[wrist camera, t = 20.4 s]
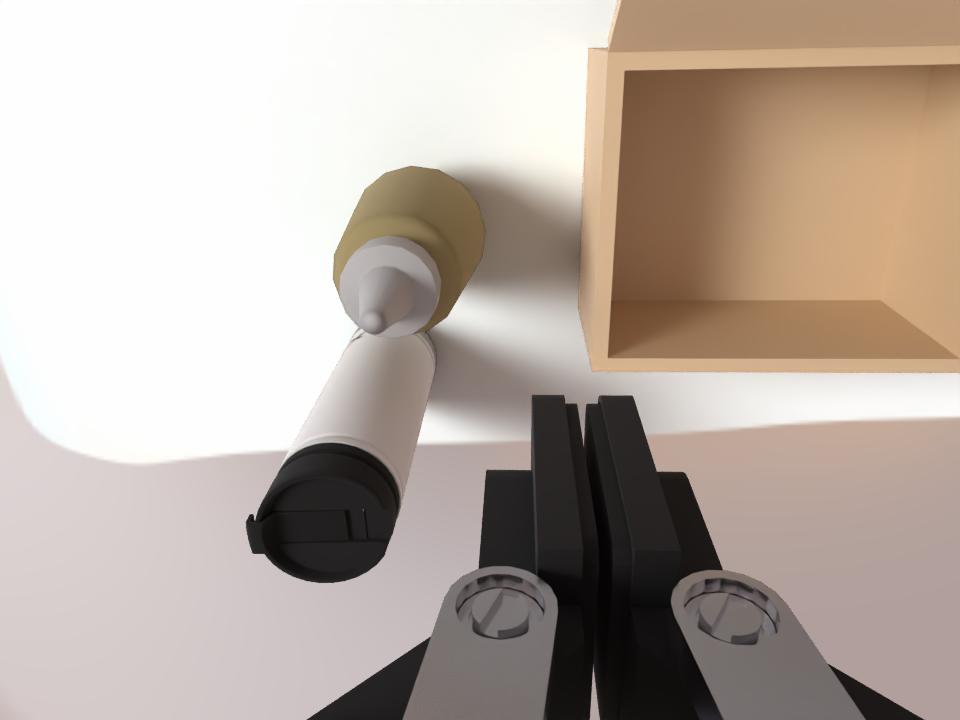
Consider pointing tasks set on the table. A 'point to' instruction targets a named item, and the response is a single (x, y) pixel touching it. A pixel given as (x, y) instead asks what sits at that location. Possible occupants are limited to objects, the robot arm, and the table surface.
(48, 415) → the table surface
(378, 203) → the squeeze bottle
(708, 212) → the carton
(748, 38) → the lid flap
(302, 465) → the travel mug
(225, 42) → the table surface
